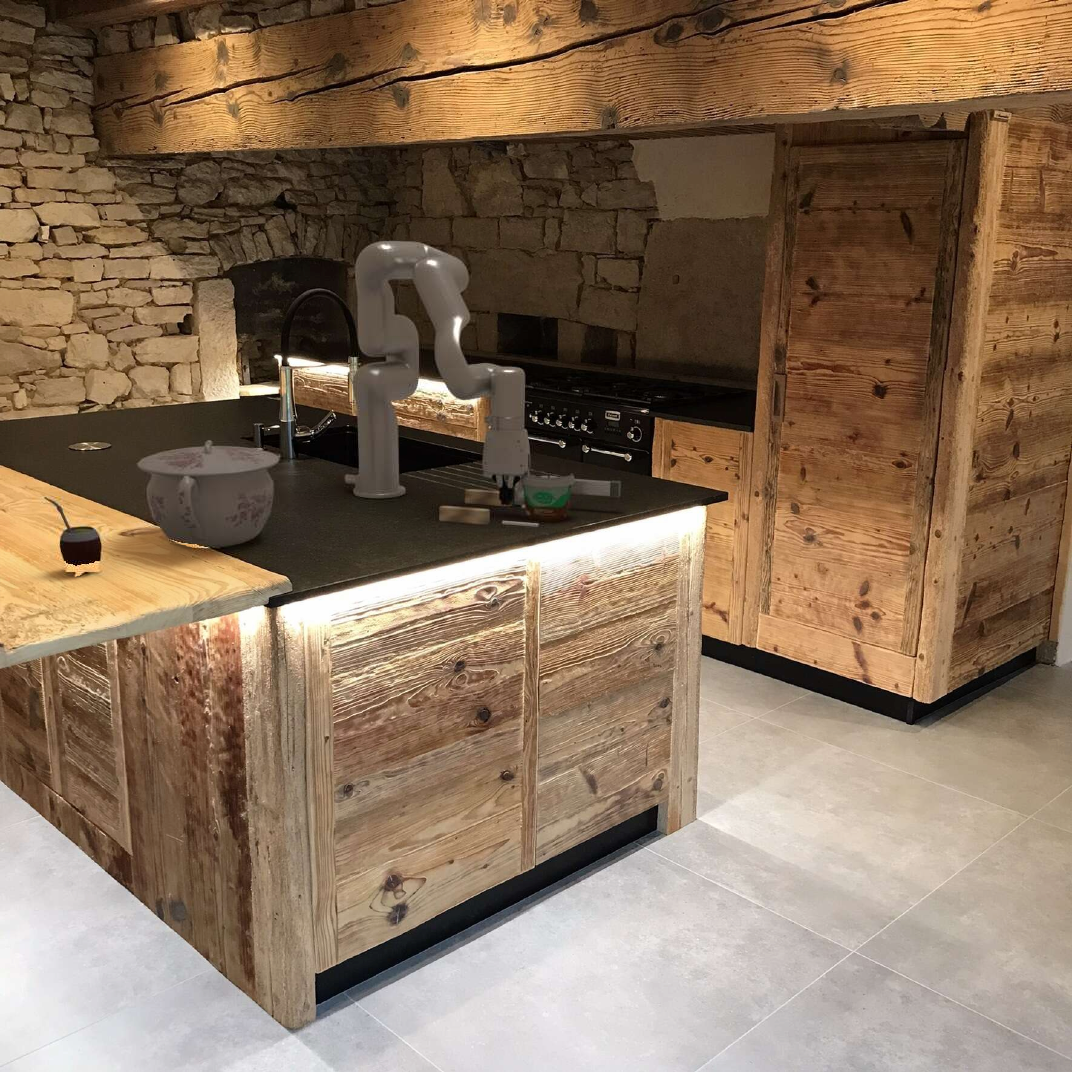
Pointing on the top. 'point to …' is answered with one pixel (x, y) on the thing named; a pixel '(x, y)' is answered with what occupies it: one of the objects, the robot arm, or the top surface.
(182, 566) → the top surface
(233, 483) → the chamber pot
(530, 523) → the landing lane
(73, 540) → the mate gourd
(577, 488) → the retention gate
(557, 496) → the food container
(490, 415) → the robot arm
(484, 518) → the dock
